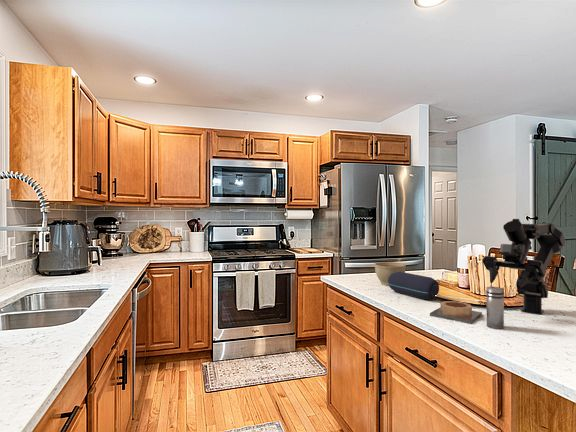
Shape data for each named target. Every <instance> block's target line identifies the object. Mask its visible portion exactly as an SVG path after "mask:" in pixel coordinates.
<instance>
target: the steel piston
mask: <svg viewBox="0 0 576 432" xmlns="http://www.w3.org/2000/svg"><path fill="white" fill-rule="evenodd" d="M485 288H486V291H485V293H486V295H485V297H486V327H487V328H489V329H493V330H504V329H505V289H504V288H503V287H499V286H486V287H485Z"/></svg>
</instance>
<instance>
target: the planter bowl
mask: <svg viewBox="0 0 576 432" xmlns="http://www.w3.org/2000/svg"><path fill="white" fill-rule="evenodd" d="M406 267H407V265H406V264H405V263H402V262H398V261H397V262H396V261H394V262H393V261H381V262H375V263H374V271H375V274H376V277H377V279H378V280H379V282H380V285H383V286H388V287H389V285H388V278H389V276H390V275H391V274H392V273H394V272H405V271H406ZM405 273H406V272H405Z"/></svg>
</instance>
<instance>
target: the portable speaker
mask: <svg viewBox="0 0 576 432" xmlns="http://www.w3.org/2000/svg"><path fill="white" fill-rule="evenodd" d="M388 285H389V286H388ZM388 285H387V286H388V287H389V288H390V289H391V290H392V291H394V292H396V293H400V294H403V295H407V296H411V297H415V298H419V299H422V300H426V301H432V300H435V299H436V298H437V297H435V295H437V294H438V295H439V292H440V285H439V282H438V281H437V280H436V279H434V278H433V277H430V276H426V275H421V274H414V273H409V272H394V273H392V274H391V275H390V276H389V278H388ZM438 295H437V296H438Z"/></svg>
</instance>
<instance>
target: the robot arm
mask: <svg viewBox="0 0 576 432" xmlns="http://www.w3.org/2000/svg"><path fill="white" fill-rule="evenodd" d="M503 231H504V233H505V235H506V237H507V239H508V241H510V242H511V244H509V243H501V244H500V247H499V254H501V255H502V256H501V258H502V260H498V259H497V257H496V256H492V255H491V256H490V255H485V256H483V257H482V260H481V261H482V263H483V265H484V267H485V269H486V270H487V271H488V272H489V282H490V284H493V283H494V281H495V280H496V277H498V274H499V271H500V267H501V268H507V269H512V270H520V271H521V273H520V274H519V276H518V278H517V279H516V283H515V285H516V291H517V294H518V295H522V296H523V307H522V309H520V311H521V312H522V313H523V312H524V313H528V314H529V313H531V314H537V315H543V313H544V311H545V310H544V309H543V307H542V305H543V302H542V301H543V299H548V296H549V290H548V288H547V285H546V284H545V281H544V277H545V276H546V273H547V271H546V270H547V268H548V267H549V264H550V262H551V260H552V257H553V255H555V254H556V253H559V252H561V250H562V249H563V247H564V246H565V245H566V239H565V236H564V234H563V232H562V231H560V230H559V229H558V228H556V226H555V224H554V223H552V222H540V223H522V222H521V220H520V219H519V218H513V219H512V220H509V221H507V222H505V224H503ZM532 240H536V242H537V243H538V246H539V250H538V252H537V253H536V256H535V257H534V259H533V260H531V259H528V254H529V251H530V250H532V249H533V247H532ZM525 262H527V263H525Z"/></svg>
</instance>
